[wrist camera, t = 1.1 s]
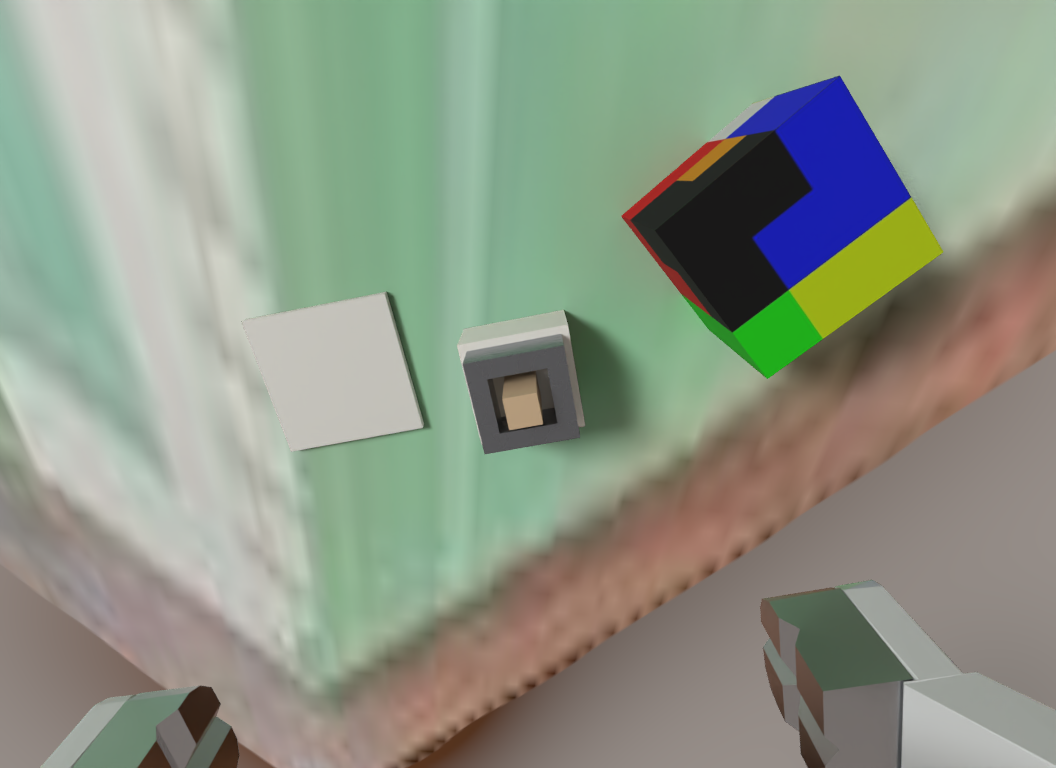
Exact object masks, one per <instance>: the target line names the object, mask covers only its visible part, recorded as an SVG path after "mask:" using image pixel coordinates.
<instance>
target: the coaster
mask: <svg viewBox="0 0 1056 768" xmlns="http://www.w3.org/2000/svg"><path fill="white" fill-rule="evenodd" d="M241 322H242V325H243V328H244V330H245V333H246V335H247V338H248V341H249V343H250V346H251V348H252V351H253V354H254V356H255V359H256V361H257V364H258V367H259V369H260V372H261V374H262V377H263V380H264V382H265V385H266V387H267V390H268V393H269V395H270V398H271V400H272V403H273V406H274V408H275V411H276V414H277V416H278V419H279V421H280V424H281V427H282V429H283V432H284V434H285V437H286V440H287V442H288V445H289V447H290V450H291V451H297V450H303V449H308V448H314V447H319V446H325V445H330V444H336V443H341V442H347V441H353V440H358V439H364V438H369V437H375V436H380V435H386V434H392V433H397V432H403V431H408V430H414V429H419V428H423V426H424V422H423V418H422V415H421V411H420V408H419V404H418V401H417V397H416V393H415V390H414V386H413V383H412V379H411V376H410V372H409V369H408V365H407V362H406V358H405V355H404V351H403V348H402V344H401V341H400V337H399V334H398V330H397V327H396V323H395V320H394V316H393V312H392V309H391V305H390V302H389V298H388V295H387V292H382V293H377V294H372V295H367V296H362V297H357V298H351V299H346V300H341V301H336V302H331V303H326V304H321V305H316V306H311V307H306V308H300V309H295V310H290V311H285V312H280V313H275V314H270V315H265V316H260V317H255V318H249V319H245V320H243V321H241Z"/></svg>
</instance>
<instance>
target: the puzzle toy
mask: <svg viewBox="0 0 1056 768" xmlns="http://www.w3.org/2000/svg"><path fill="white" fill-rule="evenodd" d="M621 217H622V218H623V219H624V220H625V222H626V223H627V224H628V226H629V227H630V228H631V229H632V231H633V232H634V233H635V235H636V236H637V237H638V239H639V240H640V241H641V242H642V244H643V245H644V246H645V248H646V249H647V250H648V251H649V253H650V254H651V255H652V257H653V258H654V259H655V261H656V262H657V263H658V264H659V266H660V267H661V268H662V270H663V271H664V272H665V274H666V275H667V276H668V277H669V279H670V280H671V281H672V283H673V284H674V285H675V286H676V288H677V289H678V290H679V292H680V293H681V294H682V296H683V297H684V298H685V299H686V301H687V302H688V303H689V305H690V306H691V307H692V308H693V310H694V311H695V312H696V314H697V315H698V316H699V318H700V319H701V320H702V321H703V323H704V324H705V325H706V327H707V328H708V329H709V330H710V331H711V332H712V333H713V334H715V335H716V336H717V337H718V338H719V339H720V340H722V341H723V342H724V343H725V344H726V345H728V346H729V347H730V348H731V349H732V350H734V351H735V352H736V353H737V354H738V355H740V356H741V357H742V358H743V359H744V360H745V361H747V362H748V363H749V364H750V365H751V366H753V367H754V368H755V369H756V370H757V371H759V372H760V373H761V374H762V375H763V376H765V377H766V378H767V379H768V378H769V377H771V376H772V375H774V374H775V373H776V372H778V371H779V370H781V369H782V368H783V367H785V366H786V365H788V364H789V363H790V362H792V361H793V360H794V359H796V358H797V357H799V356H800V355H801V354H803V353H804V352H806V351H807V350H808V349H810V348H811V347H813V346H814V345H815V344H817V343H818V342H819V341H821V340H822V339H824V338H825V337H826V336H828V335H829V334H831V333H832V332H833V331H835V330H836V329H837V328H839V327H840V326H842V325H843V324H844V323H846V322H847V321H849V320H850V319H851V318H853V317H854V316H856V315H857V314H858V313H860V312H861V311H862V310H864V309H865V308H867V307H868V306H869V305H871V304H872V303H874V302H875V301H876V300H878V299H879V298H881V297H882V296H883V295H885V294H886V293H887V292H889V291H890V290H892V289H893V288H894V287H896V286H897V285H899V284H900V283H901V282H903V281H904V280H905V279H907V278H908V277H910V276H911V275H912V274H914V273H915V272H917V271H918V270H919V269H921V268H922V267H924V266H925V265H926V264H928V263H929V262H930V261H932V260H933V259H935V258H936V257H937V256H939V255H940V254H942V253H943V250H942V249H941V247H940V245H939V244H938V242H937V240H936V238H935V237H934V235H933V233H932V232H931V230H930V228H929V226H928V225H927V223H926V221H925V220H924V218H923V216H922V215H921V213H920V211H919V209H918V208H917V206H916V204H915V203H914V201H913V199H912V198H911V196H910V194H909V192H908V191H907V189H906V187H905V186H904V184H903V182H902V181H901V179H900V177H899V175H898V174H897V172H896V170H895V169H894V167H893V165H892V164H891V162H890V160H889V158H888V157H887V155H886V153H885V152H884V150H883V148H882V147H881V145H880V143H879V141H878V140H877V138H876V136H875V135H874V133H873V131H872V130H871V128H870V126H869V124H868V123H867V121H866V119H865V118H864V116H863V114H862V113H861V111H860V109H859V107H858V106H857V104H856V102H855V101H854V99H853V97H852V96H851V94H850V92H849V90H848V89H847V87H846V85H845V84H844V82H843V80H842V78H841V77H840V76H837V77H834V78H831V79H827V80H824V81H821V82H818V83H815V84H812V85H809V86H805V87H802V88H799V89H796V90H793V91H790V92H787V93H783V94H780V95H777V96H774V97H771V98H768V99H765V100H761V101H758V102H755V103H752V104H751V105H750V106H749V107H748V108H747V109H745V110H744V111H743V112H742V113H741V114H740V115H738V116H737V117H736V118H735V119H734V120H733V121H731V122H730V123H729V124H728V125H727V126H726V127H724V128H723V129H722V130H721V131H720V132H719V133H717V134H716V135H715V136H714V137H713V138H712V139H710V140H709V141H708V142H707V143H706V144H705V145H703V146H702V147H701V148H700V149H699V150H698V151H696V152H695V153H694V154H693V155H692V156H691V157H690V158H688V159H687V160H686V161H685V162H684V163H683V164H681V165H680V166H679V167H678V168H677V169H676V170H674V171H673V172H672V173H671V174H670V175H669V176H667V177H666V178H665V179H664V180H663V181H662V182H660V183H659V184H658V185H657V186H656V187H655V188H653V189H652V190H651V191H650V192H649V193H648V194H646V195H645V196H644V197H643V198H642V199H641V200H639V201H638V202H637V203H636V204H635V205H634V206H632V207H631V208H630V209H629V210H628V211H627V212H625V213H624V214H623V215H622V216H621Z"/></svg>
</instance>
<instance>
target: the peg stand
mask: <svg viewBox="0 0 1056 768" xmlns="http://www.w3.org/2000/svg"><path fill="white" fill-rule="evenodd" d="M557 334H561V335H562V339H563V343H564V348H565V354H566V360H567V365H568V371H569V376H570V382H571V388H572V393H573V399H574V405H575V410H576V416H577V422H578V427H583V426H585V421H584V415H583V409H582V403H581V398H580V392H579V386H578V380H577V374H576V368H575V363H574V357H573V351H572V345H571V339H570V334H569V328H568V323H567V320H566V316H565V313H564V310H560V311H555V312H549V313H544V314H539V315H534V316H528V317H523V318H518V319H513V320H507V321H502V322H497V323H492V324H486V325H481V326H476V327H471V328H465V329H463V332H462V334H461V337H460V339H459V342H458V344H457V347H458V351H459V355H460V359H461V363H462V367H463V361H464V358H465V355H466V352H467V351H472V350H477V349H482V348H488V347H493V346H498V345H504V344H509V343H514V342H520V341H525V340H530V339H536V338H541V337H546V336H552V335H557ZM463 371H464V368H463ZM464 375H465V372H464ZM492 379H493V383H494V387H495V392H496V396H497V400H498V405H499V409H500V414H501V417H504V416H506V418H507V423H508V427H509V430H514V429H519V428H525V427H531V426H536V425H542V424H543V416H542V410H544V409H549V408H555V407H554V401H553V396H552V391H551V386H550V381H549V375H548V370H547V368H546V369H541V370H536V371H530V372H525V373H519V374H514V375H508V376H503V377H498V378H492ZM465 380H466V376H465ZM466 384H467V380H466ZM467 388H468V384H467ZM468 392H469V388H468ZM469 396H470V392H469ZM470 400H471V396H470ZM471 404H472V401H471ZM472 408H473V405H472ZM473 412H474V409H473ZM474 416H475V413H474ZM475 420H476V417H475ZM476 424H477V421H476ZM477 428H478V425H477ZM478 432H479V429H478ZM479 436H480V433H479ZM480 440H481V437H480ZM481 444H482V441H481Z"/></svg>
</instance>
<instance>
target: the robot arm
mask: <svg viewBox="0 0 1056 768" xmlns="http://www.w3.org/2000/svg"><path fill="white" fill-rule="evenodd" d="M760 609H761V622H762V624H763V626H764V628H765V630H766V632H767V634H768V635H769V637H770V638H769V640H768V641H767V643H766V644H765V645H764V647H763V651H764V660H765V668H766V672H767V676H768V680H769V683H770V688H771V690H772V693H773V696H774V698H775V701H776V703H777V705H778V708H779V710H780V712H781V714H782V716H783V718H784V720H785V722H786V723H788V724H789V725H791V726H792V727H793V728H795V729H796V730H798V731H799V735H800V749H801V755H802V757H803V759H804V761H805V763H806V765H807V767H808V768H1056V710H1054V709H1053V708H1051V707H1048V706H1046V705H1044V704H1042V703H1040V702H1038V701H1036V700H1034V699H1032V698H1029V697H1028V696H1026V695H1023V694H1021V693H1019V692H1017V691H1015V690H1013V689H1011V688H1009V687H1007V686H1005V685H1003V684H1000V683H999V682H996V681H994V680H992V679H990V678H988V677H986V676H984V675H982V674H980V673H978V672H974V673H965V674H964V673H963V672H962V671H961V670H960V669H959V668H958V667H957V666H956V665H955V664H954V663H953V661H952V660H951V659H950V658H949V657H948V656H947V655H946V654H945V653H944V652H943V651H942V650H941V649H940V647H939V646H938V645H937V644H936V643H935V642H934V641H933V640H932V639H931V638H930V637H929V636H928V635H927V634H926V632H925V631H924V630H923V629H922V628H921V627H920V626H919V625H918V624H917V623H916V622H915V621H914V620H913V618H911V616H910V615H909V614H908V613H907V612H906V611H905V610H904V609H903V608H902V607H901V606H900V605H899V603H898V602H897V601H896V600H895V599H894V598H893V597H892V596H891V595H890V594H889V593H888V592H887V591H886V589H885V588H884V587H883V586H882V585H881V584H879V583H877V582H875V581H873V580H870V581H864V582H858V583H852V584H846V585H841V586H835V587H834V588H826V589H819V590H813V591H807V592H801V593H795V594H789V595H782V596H777V597H770V598H764V599H762V602H761V606H760ZM220 705H221V704H220V702H219V700H218V698H217V696H216V694H215V693H214V691H213V689H212V687H206V686H193V687H186V688H178V689H170V690H162V691H154V692H147V693H139V694H137V695H130V696H121V697H114V698H113V697H112V698H108V699H106V700H104V701H102V702H100V703H98V704H96V705H94V706H93V707H92V709H91V710H90V711H89V712H88V713H87V714H86V715H85V717H84V718H83V719H82V720H81V721H80V722H79V723H78V725H77V726H76V727H75V728H74V729H73V730H72V732H71V733H70V734H69V735H68V736H67V737H66V738H65V740H64V741H63V742H62V743H61V744H60V745H59V747H58V748H57V749H56V750H55V751H54V752H53V753H52V755H51V756H50V757H49V758H48V759H47V760H46V762H45V763H44V764H43V765H42V766H41V767H40V768H237V765H238V759H239V749H238V741H237V738H236V735H235V733H234V731H233V729H232V727H231V726H230V725H228V724H227V723H225V722H224V721H222V720H221V719H219V718H218V717H216V716H217V713H218V710H219V707H220Z"/></svg>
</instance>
